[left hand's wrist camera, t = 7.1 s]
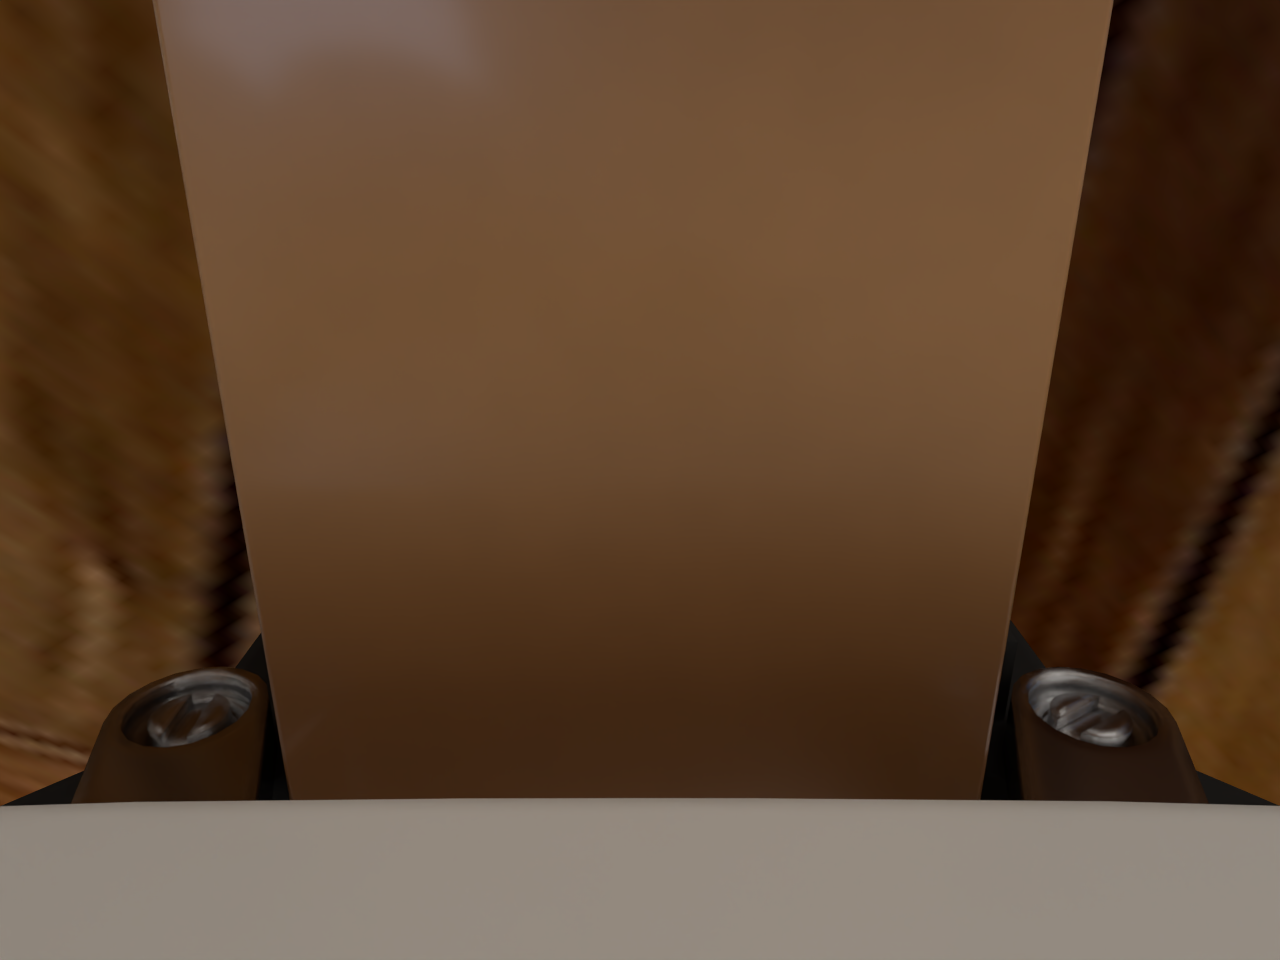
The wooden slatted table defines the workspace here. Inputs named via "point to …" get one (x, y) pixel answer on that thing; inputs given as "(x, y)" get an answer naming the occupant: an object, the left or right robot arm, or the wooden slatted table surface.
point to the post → (633, 377)
